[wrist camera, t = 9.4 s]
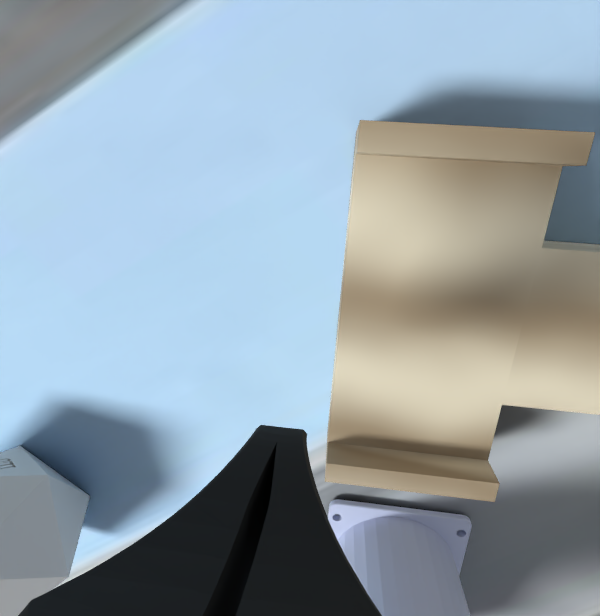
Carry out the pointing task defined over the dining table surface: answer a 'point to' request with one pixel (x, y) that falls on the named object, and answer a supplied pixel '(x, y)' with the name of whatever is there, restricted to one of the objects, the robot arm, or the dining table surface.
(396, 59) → the dining table surface
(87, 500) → the die
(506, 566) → the dining table surface
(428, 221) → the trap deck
